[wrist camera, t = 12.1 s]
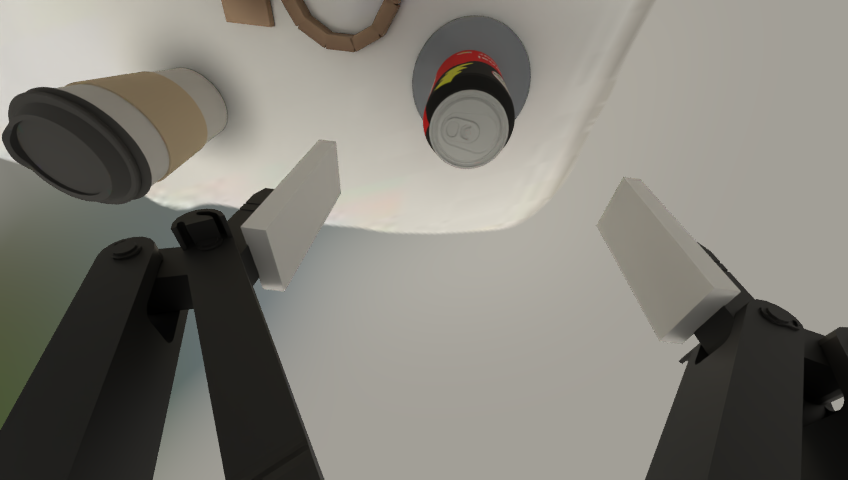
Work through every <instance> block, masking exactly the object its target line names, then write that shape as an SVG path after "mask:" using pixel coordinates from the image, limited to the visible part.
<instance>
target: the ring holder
mask: <svg viewBox="0 0 848 480" xmlns="http://www.w3.org/2000/svg"><path fill="white" fill-rule="evenodd" d="M221 1H222V5H223V9H224V13H225V17H226V21H227V22H233V23H241V24H250V25H258V26H266V27H273V26H275V25H274V20H273V14H272V9H271V3H270V0H221ZM281 1H282V3H283V4H284V6H285V8H286V10H287V11H288V13H289V15H290V16H291V18H292V20H293V22H294V23H295V25H296V26H299V27H298V29H300V30H301V31H302V32H304V33H305V34H306V35H308V36H309V37H310V38H312V39H313V40H314V41H316V42H317V43H318V44H320V45H321V46H322V47H324V48H325V47H326V49H332V50H340V51H349V52H355V51H356V52H357V51H358V50H360V49H362V48H364V47H365V46H367V45H369V44H371V43H372V42H374V41H376V40H378V39H379V38H381V37H383V36H384V35H385V34H386V32H387V30H388V28H389V26H390V24H391V22H392V20H393V18H394V17H395V15H396V13H397V11H398V9H399V7H400V5H399V3H401V0H384V1H383V3H382V5H381V7H380V9H379V11H378V13H377V15H376V17H375V19H374V22H373V24H372V25H371V26H369V27H368V28H366V29H364V30H363V31H361V32H359V33H358V34H356V35H351V34H343V33H334V32H332V31H331V30H329V29H328V28H327V27H326V26H324V25H323V24H322V23H320V22H319V21H318V20H317V19H315V18H314V17H313V16H312V15H311V14H310V12H309V10H308V8H307V6H306V5H305V3H304V1H303V0H281Z"/></svg>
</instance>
